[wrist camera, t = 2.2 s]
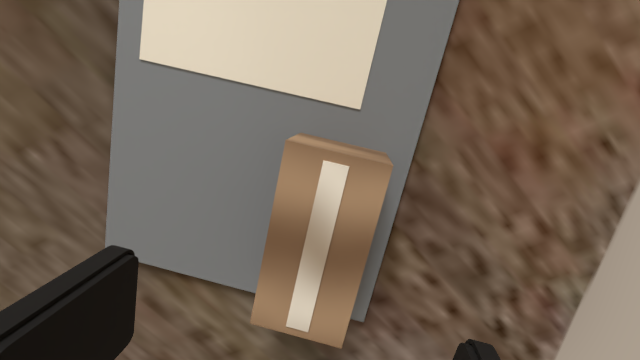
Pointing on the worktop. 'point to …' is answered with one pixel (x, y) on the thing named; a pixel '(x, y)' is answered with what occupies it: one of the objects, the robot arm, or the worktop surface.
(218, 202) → the mat
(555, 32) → the worktop surface
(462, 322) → the worktop surface
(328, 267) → the block
